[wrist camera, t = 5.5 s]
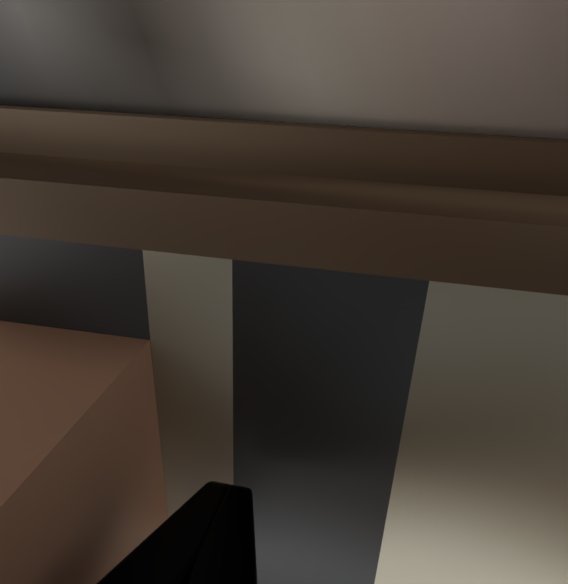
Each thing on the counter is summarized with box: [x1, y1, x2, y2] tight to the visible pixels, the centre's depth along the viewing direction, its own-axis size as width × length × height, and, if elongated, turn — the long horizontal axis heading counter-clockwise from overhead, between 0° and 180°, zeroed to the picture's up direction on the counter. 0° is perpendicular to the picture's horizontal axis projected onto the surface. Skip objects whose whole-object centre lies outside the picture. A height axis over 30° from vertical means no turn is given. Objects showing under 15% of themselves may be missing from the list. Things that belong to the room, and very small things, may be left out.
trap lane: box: [0, 105, 568, 584], centre depth 9 cm, size 12×22×2 cm, turn 88°
